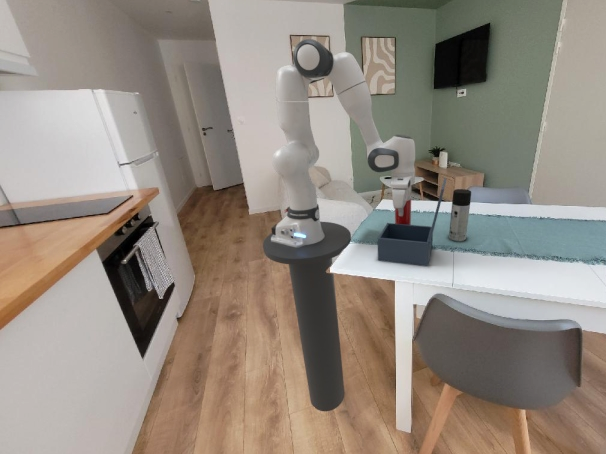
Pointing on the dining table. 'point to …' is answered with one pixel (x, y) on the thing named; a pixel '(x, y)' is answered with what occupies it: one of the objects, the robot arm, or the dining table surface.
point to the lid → (437, 209)
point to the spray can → (459, 214)
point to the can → (407, 214)
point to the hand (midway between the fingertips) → (402, 212)
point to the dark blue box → (405, 244)
